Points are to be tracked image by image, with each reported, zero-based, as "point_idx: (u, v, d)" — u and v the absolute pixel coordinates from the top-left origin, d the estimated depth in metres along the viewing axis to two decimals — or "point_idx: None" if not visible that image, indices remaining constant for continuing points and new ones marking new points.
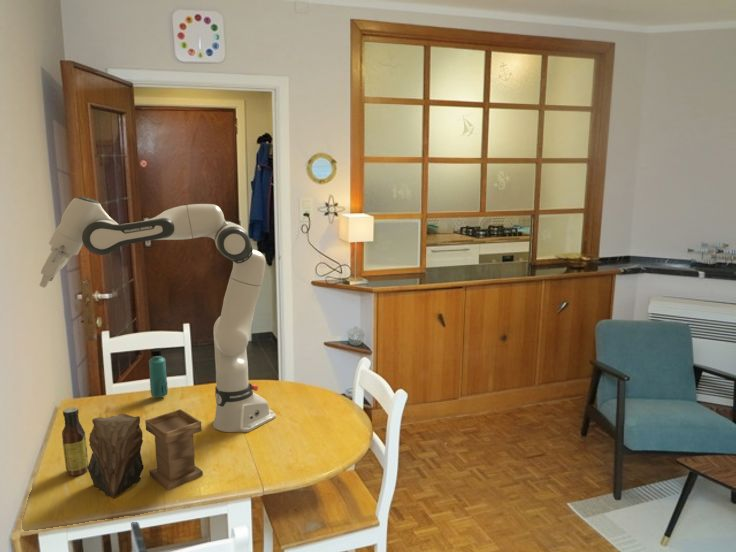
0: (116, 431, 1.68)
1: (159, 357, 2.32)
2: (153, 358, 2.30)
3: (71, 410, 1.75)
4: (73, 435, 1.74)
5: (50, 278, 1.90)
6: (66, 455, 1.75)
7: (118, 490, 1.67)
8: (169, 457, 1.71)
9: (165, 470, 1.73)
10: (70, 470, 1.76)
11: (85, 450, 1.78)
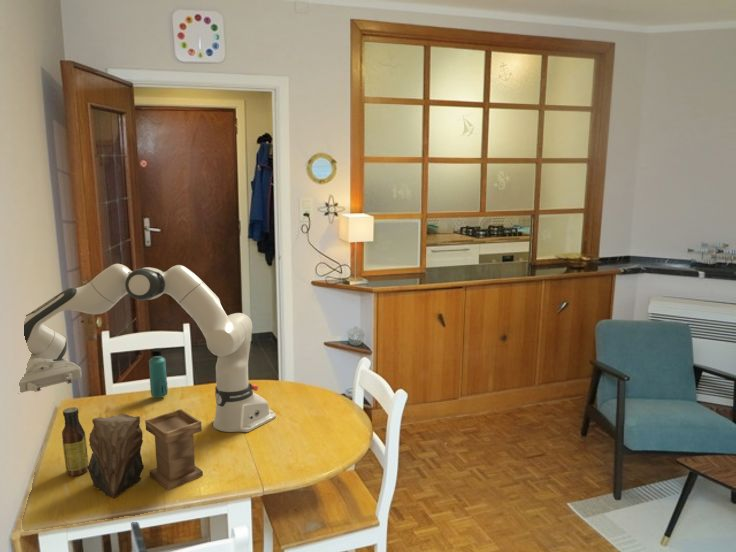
0: (116, 431, 1.68)
1: (159, 357, 2.32)
2: (153, 358, 2.30)
3: (71, 410, 1.75)
4: (73, 435, 1.74)
5: None
6: (66, 455, 1.75)
7: (118, 490, 1.67)
8: (169, 457, 1.71)
9: (165, 470, 1.73)
10: (70, 470, 1.76)
11: (85, 450, 1.78)
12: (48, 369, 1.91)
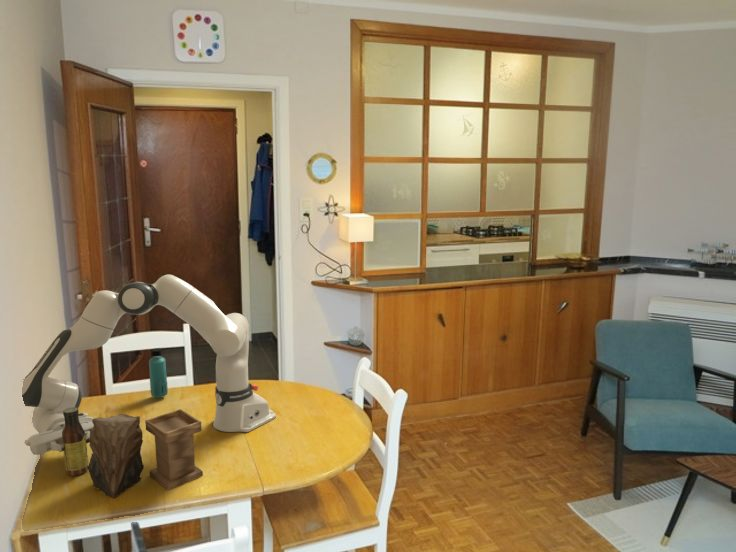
0: (116, 431, 1.68)
1: (159, 357, 2.32)
2: (153, 358, 2.30)
3: (71, 410, 1.75)
4: (73, 435, 1.74)
5: None
6: (66, 455, 1.75)
7: (118, 490, 1.67)
8: (169, 457, 1.71)
9: (165, 470, 1.73)
10: (70, 470, 1.76)
11: (85, 450, 1.78)
12: None
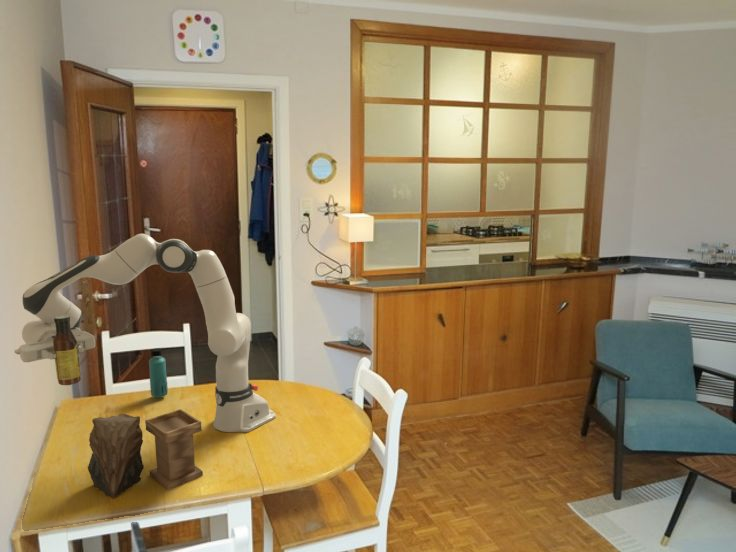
0: (116, 431, 1.68)
1: (159, 357, 2.32)
2: (153, 358, 2.30)
3: (63, 317, 1.70)
4: (64, 342, 1.69)
5: None
6: (57, 363, 1.70)
7: (118, 490, 1.67)
8: (169, 457, 1.71)
9: (165, 470, 1.73)
10: (62, 379, 1.70)
11: (77, 359, 1.72)
12: None
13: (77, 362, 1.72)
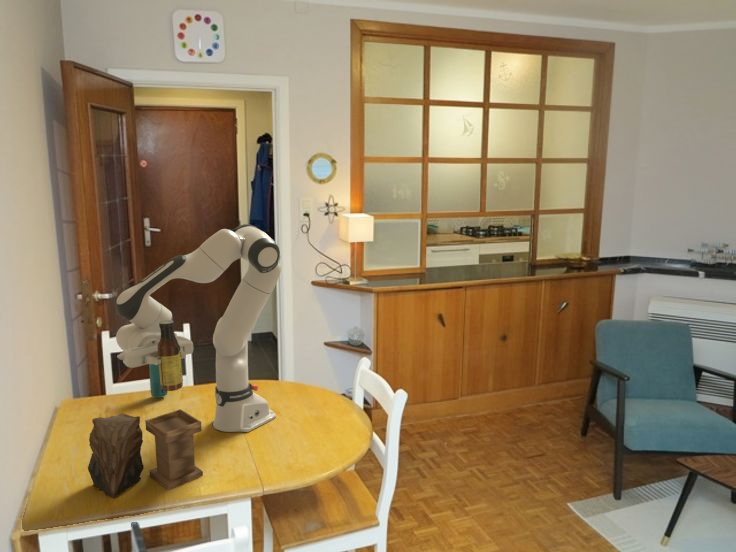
0: (116, 431, 1.68)
1: None
2: None
3: (168, 322, 1.68)
4: (170, 348, 1.67)
5: None
6: (162, 369, 1.68)
7: (118, 490, 1.67)
8: (169, 457, 1.71)
9: (165, 470, 1.73)
10: (166, 385, 1.69)
11: (180, 365, 1.71)
12: None
13: (180, 368, 1.71)
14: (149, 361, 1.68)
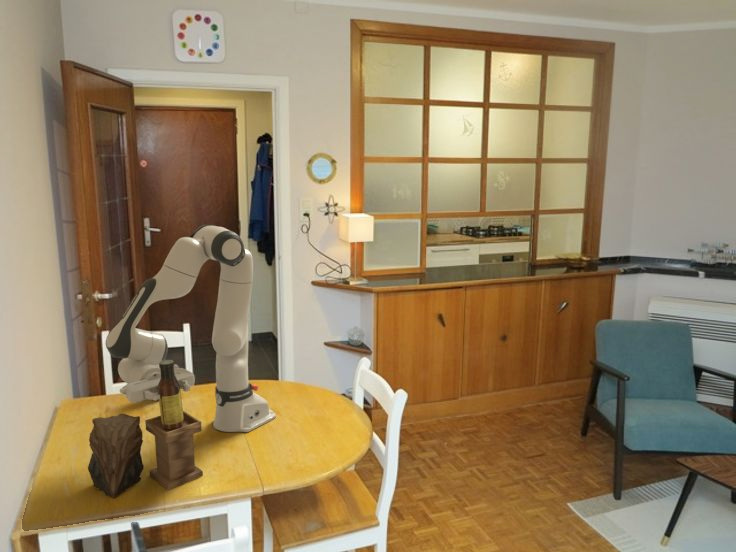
0: (116, 431, 1.68)
1: None
2: None
3: (168, 362, 1.70)
4: (170, 388, 1.69)
5: (184, 387, 1.75)
6: (163, 408, 1.70)
7: (118, 490, 1.67)
8: (169, 457, 1.71)
9: (165, 470, 1.73)
10: (167, 424, 1.71)
11: (181, 404, 1.73)
12: None
13: (181, 406, 1.73)
14: (148, 397, 1.70)
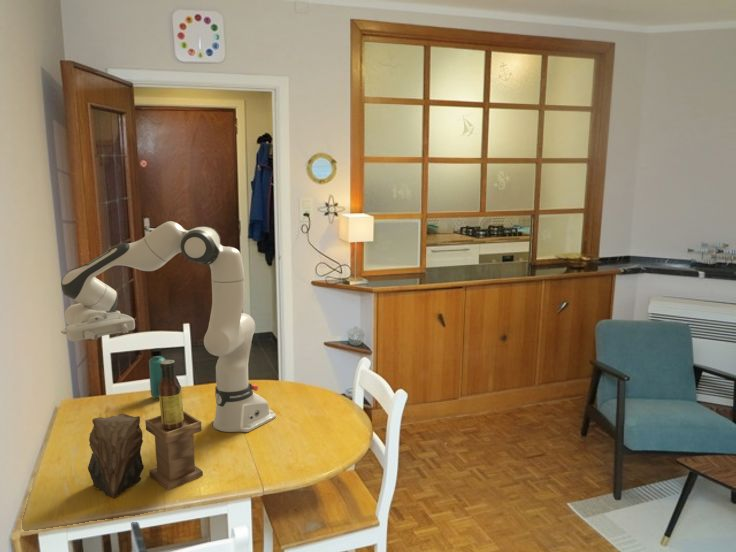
0: (116, 431, 1.68)
1: (159, 357, 2.32)
2: (153, 358, 2.30)
3: (169, 362, 1.70)
4: (171, 388, 1.69)
5: (123, 329, 1.86)
6: (163, 408, 1.70)
7: (118, 490, 1.67)
8: (169, 457, 1.71)
9: (165, 470, 1.73)
10: (167, 424, 1.71)
11: (181, 404, 1.73)
12: (102, 320, 1.91)
13: (181, 406, 1.73)
14: (87, 336, 1.80)
